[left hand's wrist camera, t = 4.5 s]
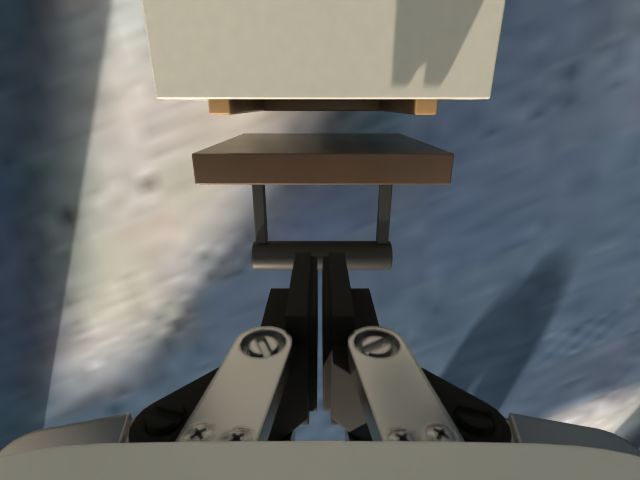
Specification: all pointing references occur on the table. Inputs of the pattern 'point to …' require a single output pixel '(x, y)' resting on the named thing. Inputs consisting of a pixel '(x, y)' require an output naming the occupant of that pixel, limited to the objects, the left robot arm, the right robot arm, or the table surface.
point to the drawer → (322, 171)
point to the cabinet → (323, 48)
